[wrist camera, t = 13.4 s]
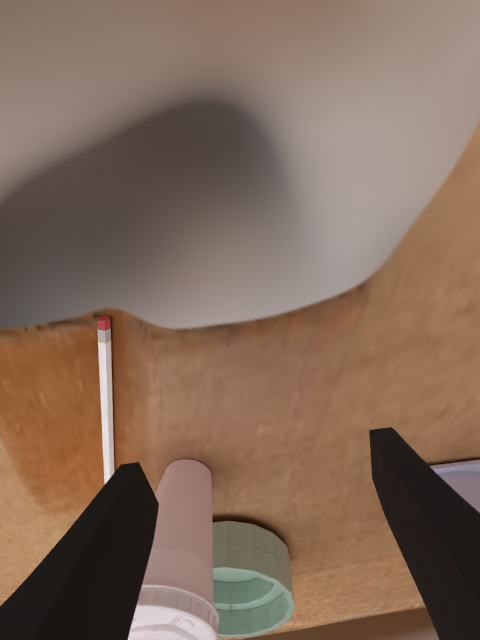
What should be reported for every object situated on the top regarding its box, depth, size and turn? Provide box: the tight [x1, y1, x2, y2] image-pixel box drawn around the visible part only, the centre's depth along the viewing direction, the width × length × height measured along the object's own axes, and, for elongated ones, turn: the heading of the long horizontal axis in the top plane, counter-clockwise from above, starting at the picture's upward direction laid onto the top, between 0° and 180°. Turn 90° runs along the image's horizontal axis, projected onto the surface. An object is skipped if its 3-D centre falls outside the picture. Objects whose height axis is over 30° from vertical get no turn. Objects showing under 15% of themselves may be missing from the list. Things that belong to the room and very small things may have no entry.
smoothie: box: [128, 459, 219, 640], centre depth 19 cm, size 6×6×14 cm
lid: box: [212, 521, 295, 638], centre depth 28 cm, size 11×11×4 cm
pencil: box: [97, 316, 114, 484], centre depth 23 cm, size 1×19×1 cm, turn 171°
